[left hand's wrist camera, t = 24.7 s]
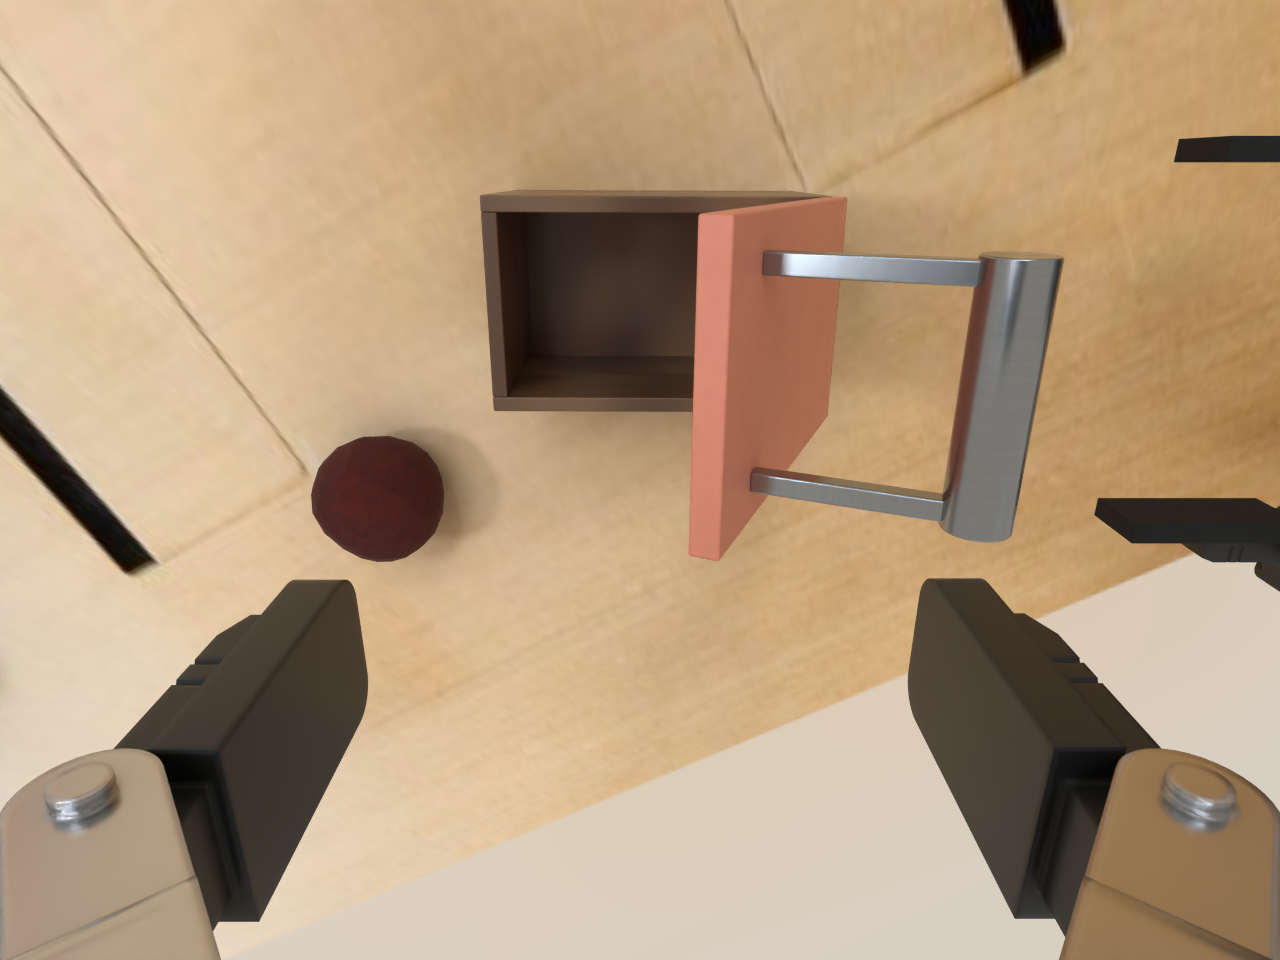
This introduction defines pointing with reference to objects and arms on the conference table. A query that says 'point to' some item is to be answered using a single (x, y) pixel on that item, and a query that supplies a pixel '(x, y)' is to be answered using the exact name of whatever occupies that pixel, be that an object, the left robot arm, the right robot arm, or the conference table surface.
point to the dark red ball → (378, 497)
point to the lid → (802, 363)
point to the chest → (597, 295)
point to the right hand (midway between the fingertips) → (1152, 350)
